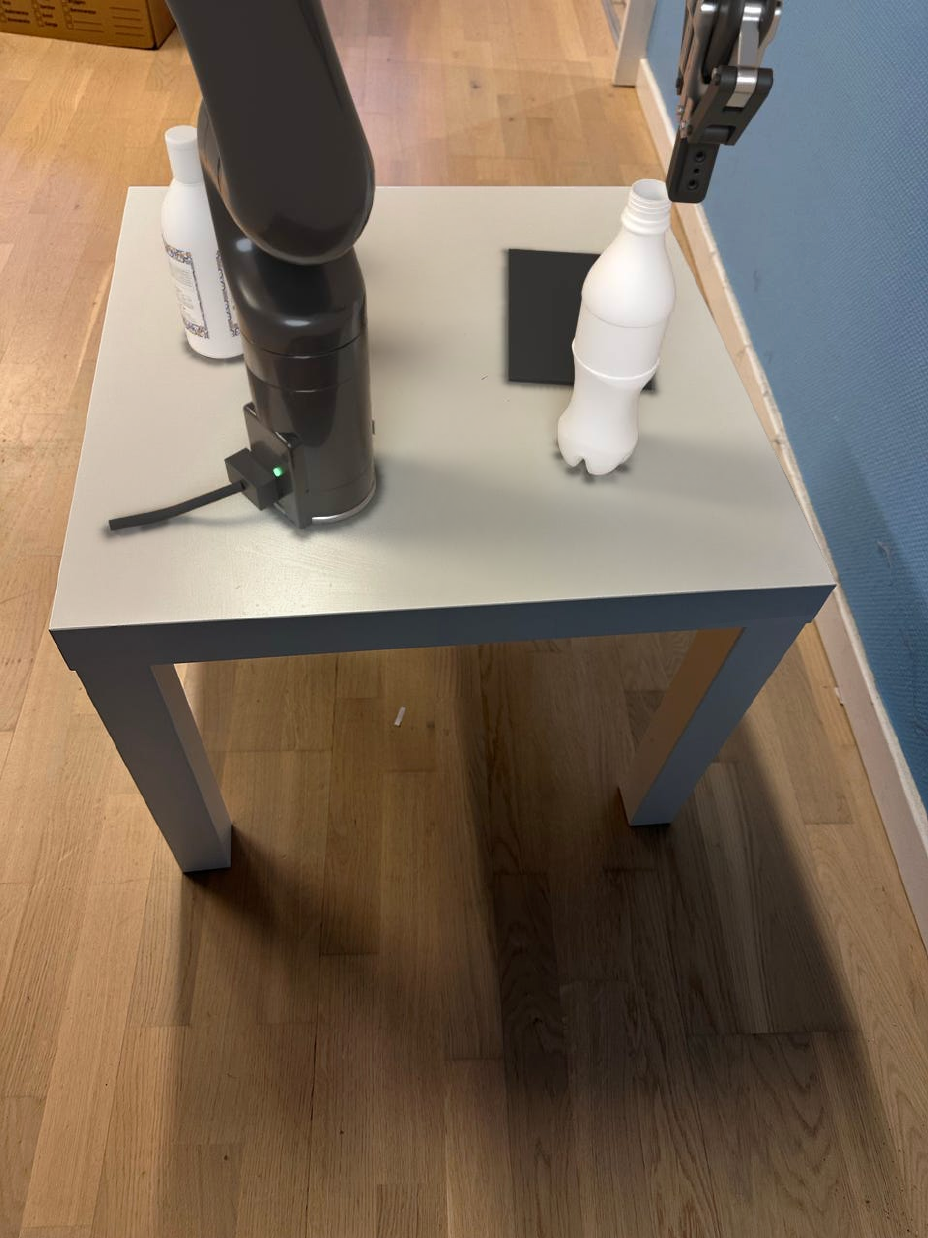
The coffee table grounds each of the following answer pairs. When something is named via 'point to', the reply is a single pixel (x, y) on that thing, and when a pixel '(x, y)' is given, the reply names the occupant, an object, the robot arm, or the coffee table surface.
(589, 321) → the water bottle
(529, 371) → the mat
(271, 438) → the robot arm
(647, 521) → the coffee table surface
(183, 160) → the bath foam
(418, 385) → the coffee table surface
